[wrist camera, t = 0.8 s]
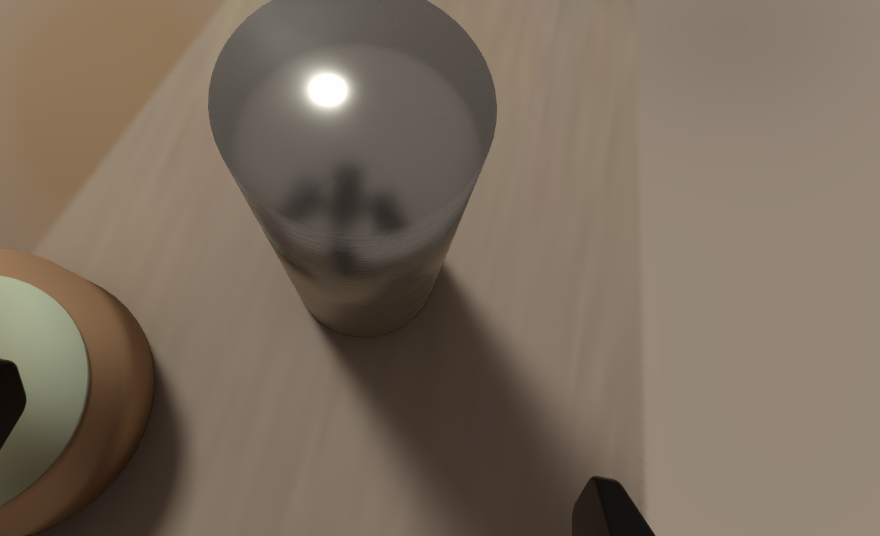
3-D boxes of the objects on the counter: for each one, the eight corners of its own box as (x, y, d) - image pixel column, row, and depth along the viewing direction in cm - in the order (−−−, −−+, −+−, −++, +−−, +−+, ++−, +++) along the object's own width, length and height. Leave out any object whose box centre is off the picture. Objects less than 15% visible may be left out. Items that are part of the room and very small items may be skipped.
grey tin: (402, 359, 23) (435, 278, 11) (270, 303, 23) (151, 160, 11) (455, 234, 25) (534, 44, 13) (331, 183, 25) (289, -58, 13)
